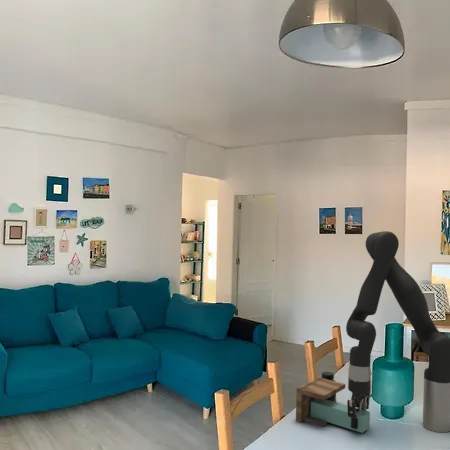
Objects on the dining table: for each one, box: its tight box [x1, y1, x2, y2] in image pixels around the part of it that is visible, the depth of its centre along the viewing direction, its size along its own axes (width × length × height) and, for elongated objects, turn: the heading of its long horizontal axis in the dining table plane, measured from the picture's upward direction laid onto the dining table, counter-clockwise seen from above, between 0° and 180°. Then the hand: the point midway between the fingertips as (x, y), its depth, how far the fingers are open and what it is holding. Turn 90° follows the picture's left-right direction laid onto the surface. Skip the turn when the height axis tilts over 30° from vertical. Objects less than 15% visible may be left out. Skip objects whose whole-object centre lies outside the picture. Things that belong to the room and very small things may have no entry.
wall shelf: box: [295, 377, 346, 428], centre depth 175 cm, size 17×11×12 cm, turn 141°
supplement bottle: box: [321, 371, 337, 402], centre depth 190 cm, size 7×7×12 cm
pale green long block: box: [310, 398, 371, 434], centre depth 170 cm, size 6×20×6 cm, turn 51°
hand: (358, 425), depth 165 cm, fingers closed on pale green long block, 6 cm apart
